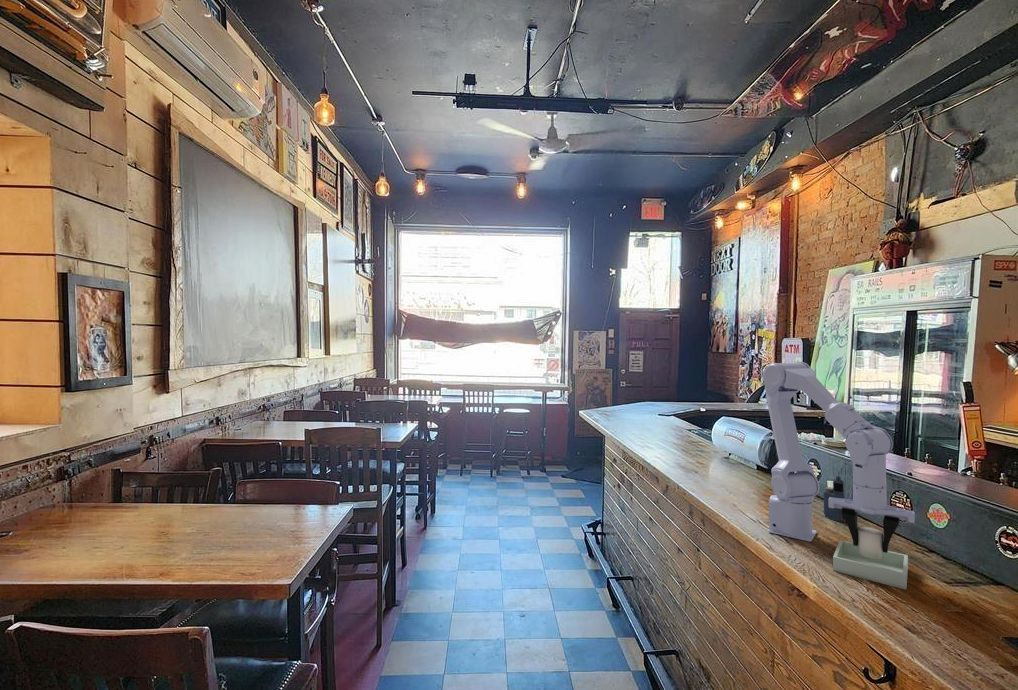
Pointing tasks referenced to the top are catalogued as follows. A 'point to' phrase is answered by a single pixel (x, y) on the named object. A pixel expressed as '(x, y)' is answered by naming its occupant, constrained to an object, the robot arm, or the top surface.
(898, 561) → the bus tub
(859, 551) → the white rounded cylinder
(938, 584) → the top surface
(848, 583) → the top surface
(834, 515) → the vaping device
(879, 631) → the top surface
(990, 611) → the top surface
